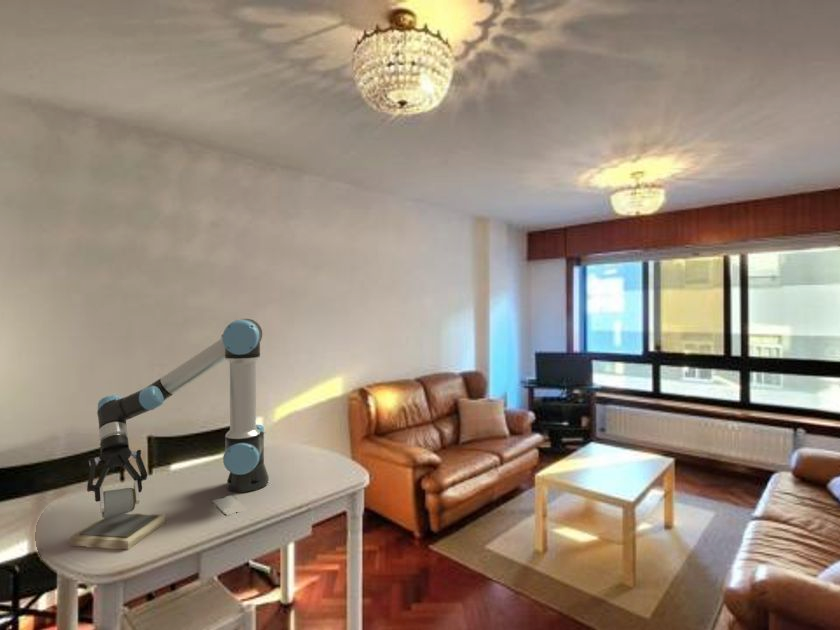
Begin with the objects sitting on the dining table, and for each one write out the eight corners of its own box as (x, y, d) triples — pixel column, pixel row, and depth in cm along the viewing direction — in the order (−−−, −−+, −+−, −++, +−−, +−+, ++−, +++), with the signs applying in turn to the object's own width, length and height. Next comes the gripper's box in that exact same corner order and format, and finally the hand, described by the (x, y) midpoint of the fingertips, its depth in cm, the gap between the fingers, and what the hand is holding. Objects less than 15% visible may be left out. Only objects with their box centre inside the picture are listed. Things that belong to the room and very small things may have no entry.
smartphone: (226, 515, 149) (211, 500, 160) (226, 517, 149) (211, 502, 160) (248, 509, 154) (232, 494, 165) (248, 510, 154) (232, 496, 165)
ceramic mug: (136, 514, 137) (136, 489, 137) (103, 522, 132) (103, 496, 131) (130, 502, 145) (130, 479, 145) (99, 510, 139) (99, 485, 139)
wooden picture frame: (165, 522, 144) (165, 513, 144) (128, 549, 128) (128, 539, 128) (112, 519, 146) (112, 510, 146) (70, 545, 130) (69, 535, 130)
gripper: (149, 440, 155) (158, 502, 143) (73, 452, 141) (76, 522, 130) (152, 428, 151) (162, 491, 139) (73, 439, 137) (77, 510, 125)
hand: (120, 506), depth 134 cm, fingers closed on ceramic mug, 8 cm apart
